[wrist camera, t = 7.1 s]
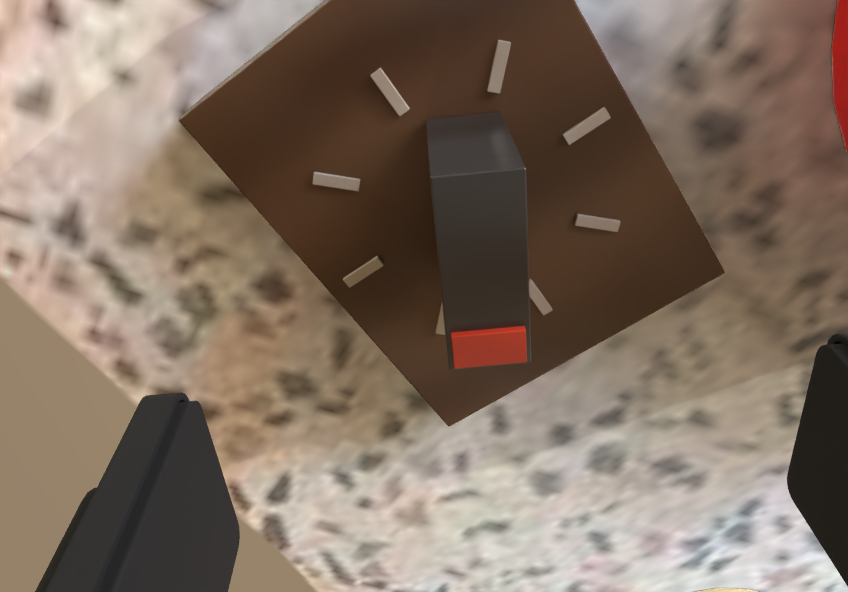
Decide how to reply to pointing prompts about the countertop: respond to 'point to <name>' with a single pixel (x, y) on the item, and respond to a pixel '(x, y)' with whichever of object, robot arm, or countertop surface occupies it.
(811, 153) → the countertop surface
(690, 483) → the countertop surface
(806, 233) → the countertop surface
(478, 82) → the panel
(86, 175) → the countertop surface
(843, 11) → the toy clock
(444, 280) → the dial
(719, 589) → the cake
